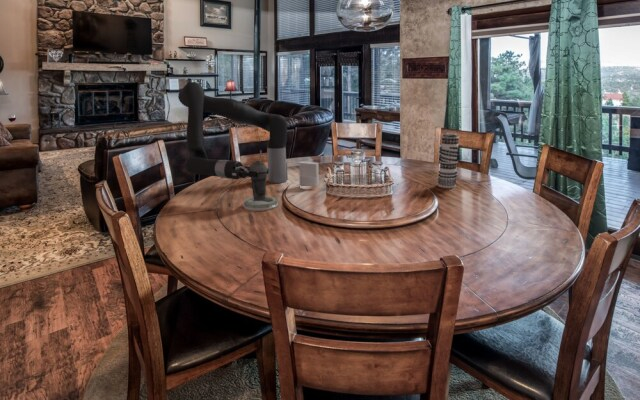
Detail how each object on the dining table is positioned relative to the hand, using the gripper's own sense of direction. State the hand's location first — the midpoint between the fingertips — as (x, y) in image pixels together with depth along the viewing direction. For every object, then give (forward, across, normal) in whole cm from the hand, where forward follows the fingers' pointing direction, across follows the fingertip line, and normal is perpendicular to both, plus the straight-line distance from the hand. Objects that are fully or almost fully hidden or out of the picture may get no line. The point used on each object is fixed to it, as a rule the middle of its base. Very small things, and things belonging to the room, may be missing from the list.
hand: (263, 173), depth 175 cm
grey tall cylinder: (+63, +64, +13) cm, 91 cm away
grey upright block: (+3, +36, +14) cm, 39 cm away
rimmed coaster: (-2, 0, +14) cm, 14 cm away
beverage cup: (-2, 0, +11) cm, 11 cm away
